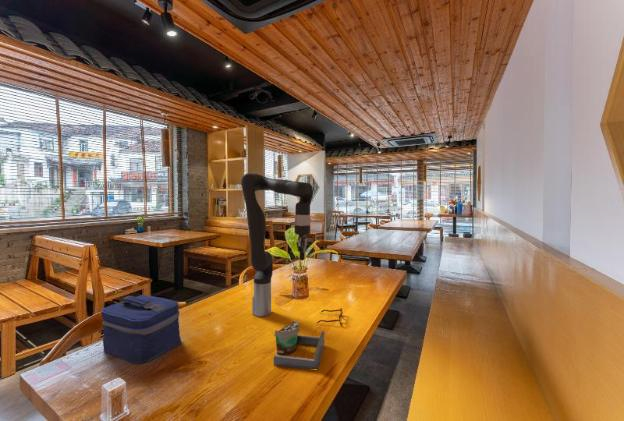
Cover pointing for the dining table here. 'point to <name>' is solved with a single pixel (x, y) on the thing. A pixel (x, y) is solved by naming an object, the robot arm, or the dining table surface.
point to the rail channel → (303, 362)
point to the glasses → (333, 320)
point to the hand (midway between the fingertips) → (302, 259)
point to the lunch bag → (140, 328)
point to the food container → (287, 339)
